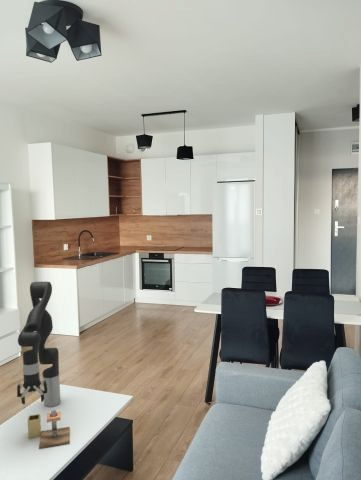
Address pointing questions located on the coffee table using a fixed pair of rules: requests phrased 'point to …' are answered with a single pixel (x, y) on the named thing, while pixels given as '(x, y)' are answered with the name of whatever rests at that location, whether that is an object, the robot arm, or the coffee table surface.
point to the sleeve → (34, 426)
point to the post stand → (54, 435)
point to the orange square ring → (51, 419)
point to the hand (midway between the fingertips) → (33, 402)
